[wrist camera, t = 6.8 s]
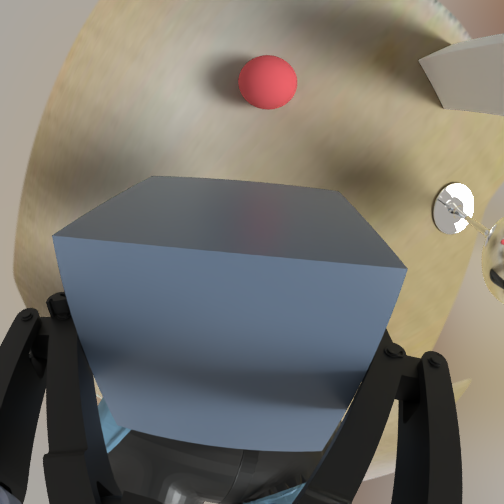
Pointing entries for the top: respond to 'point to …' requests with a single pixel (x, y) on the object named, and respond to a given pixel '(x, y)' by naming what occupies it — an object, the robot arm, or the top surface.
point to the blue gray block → (228, 308)
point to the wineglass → (460, 214)
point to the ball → (267, 82)
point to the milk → (469, 75)
